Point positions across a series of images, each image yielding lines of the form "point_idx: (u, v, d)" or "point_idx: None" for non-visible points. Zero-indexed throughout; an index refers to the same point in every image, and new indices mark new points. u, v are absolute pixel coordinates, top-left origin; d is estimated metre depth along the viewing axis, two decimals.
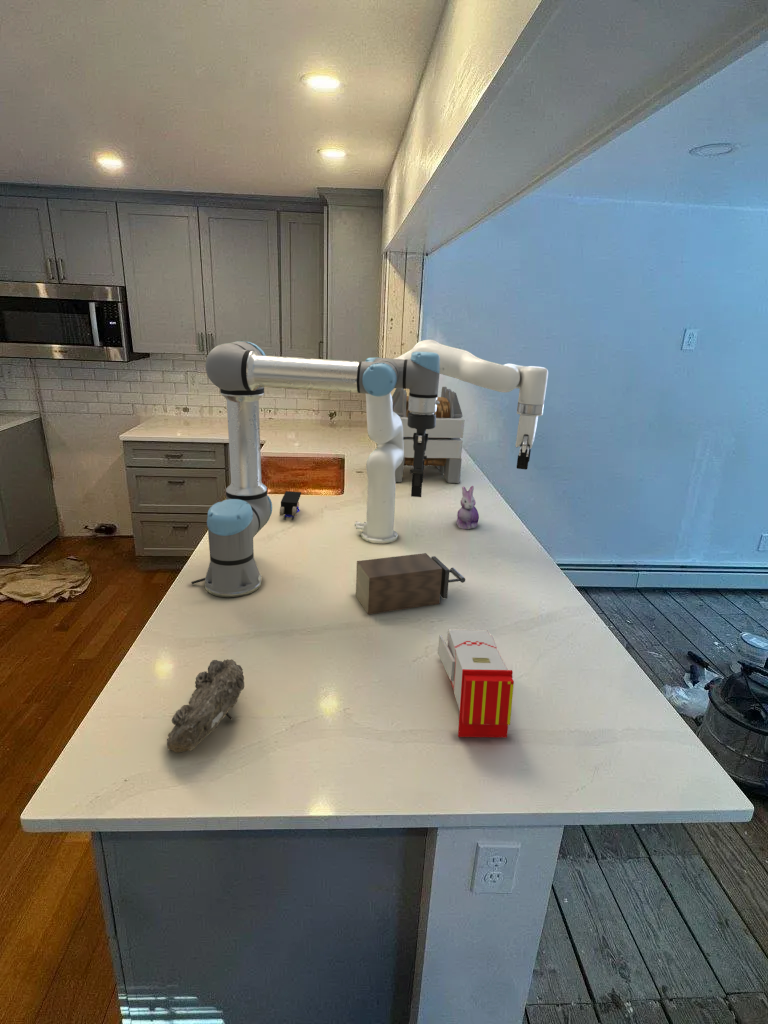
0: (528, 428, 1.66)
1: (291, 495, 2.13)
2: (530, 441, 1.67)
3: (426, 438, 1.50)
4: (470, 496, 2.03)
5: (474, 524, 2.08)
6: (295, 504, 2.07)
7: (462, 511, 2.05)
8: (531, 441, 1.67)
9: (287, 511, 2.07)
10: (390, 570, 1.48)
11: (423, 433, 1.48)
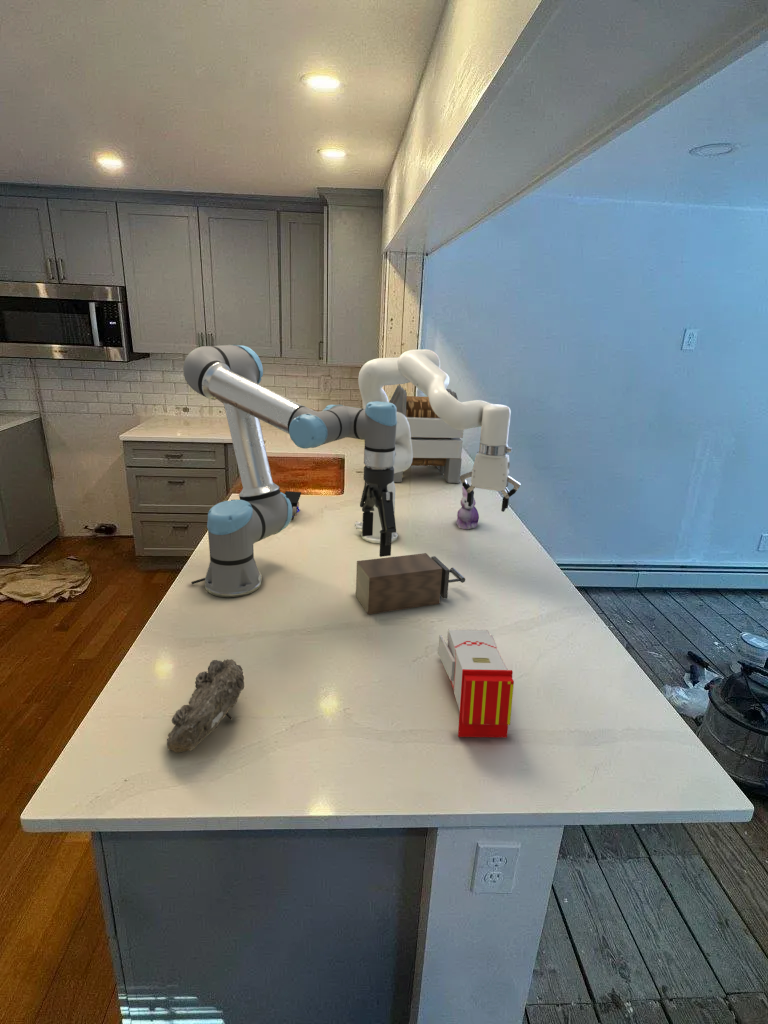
0: None
1: (291, 495, 2.13)
2: (471, 478, 1.61)
3: None
4: None
5: (474, 524, 2.08)
6: (295, 504, 2.07)
7: (462, 511, 2.05)
8: (471, 478, 1.61)
9: None
10: (390, 570, 1.48)
11: (386, 488, 1.38)
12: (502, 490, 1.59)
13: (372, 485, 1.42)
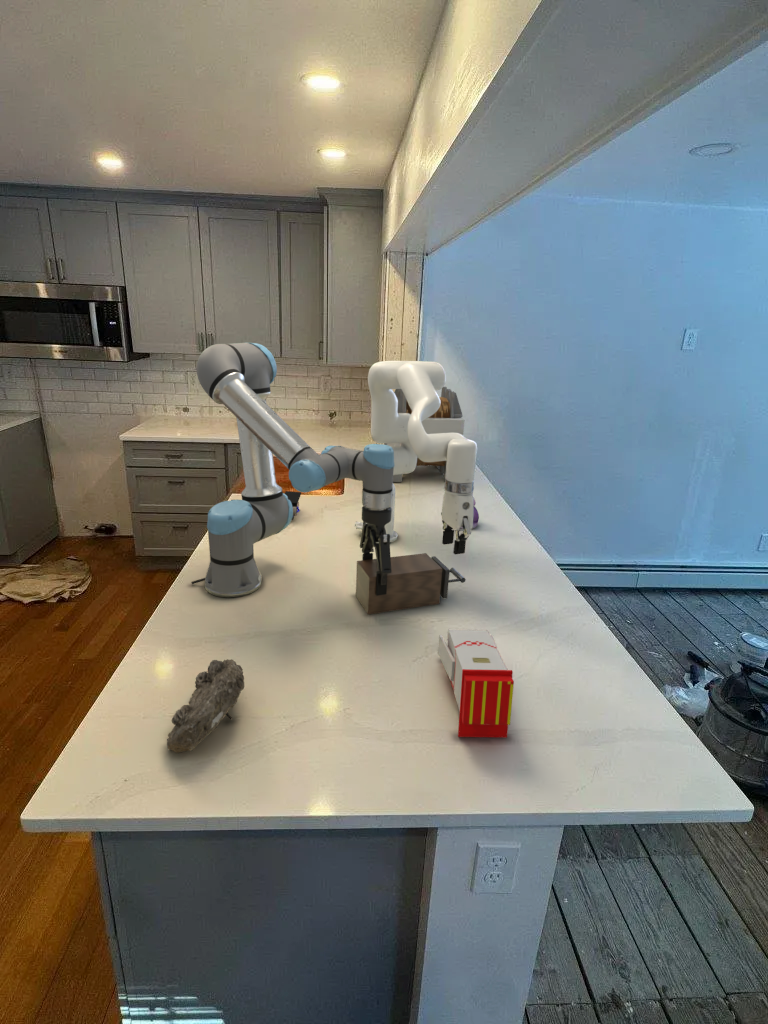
0: None
1: (291, 495, 2.13)
2: None
3: (384, 532, 1.44)
4: None
5: (474, 524, 2.08)
6: (295, 504, 2.07)
7: None
8: None
9: None
10: None
11: (384, 528, 1.42)
12: (456, 530, 1.49)
13: (370, 524, 1.45)
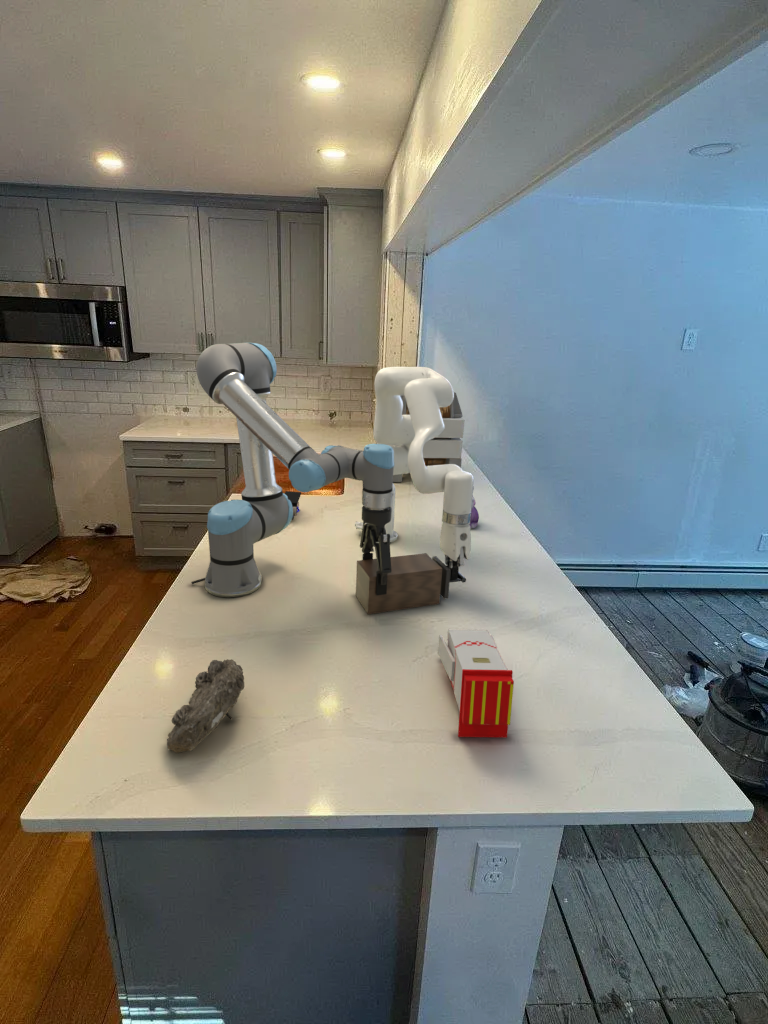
0: None
1: (291, 495, 2.13)
2: None
3: (384, 532, 1.44)
4: None
5: (474, 524, 2.08)
6: (295, 504, 2.07)
7: None
8: None
9: None
10: None
11: (384, 528, 1.42)
12: (454, 560, 1.51)
13: (370, 524, 1.45)
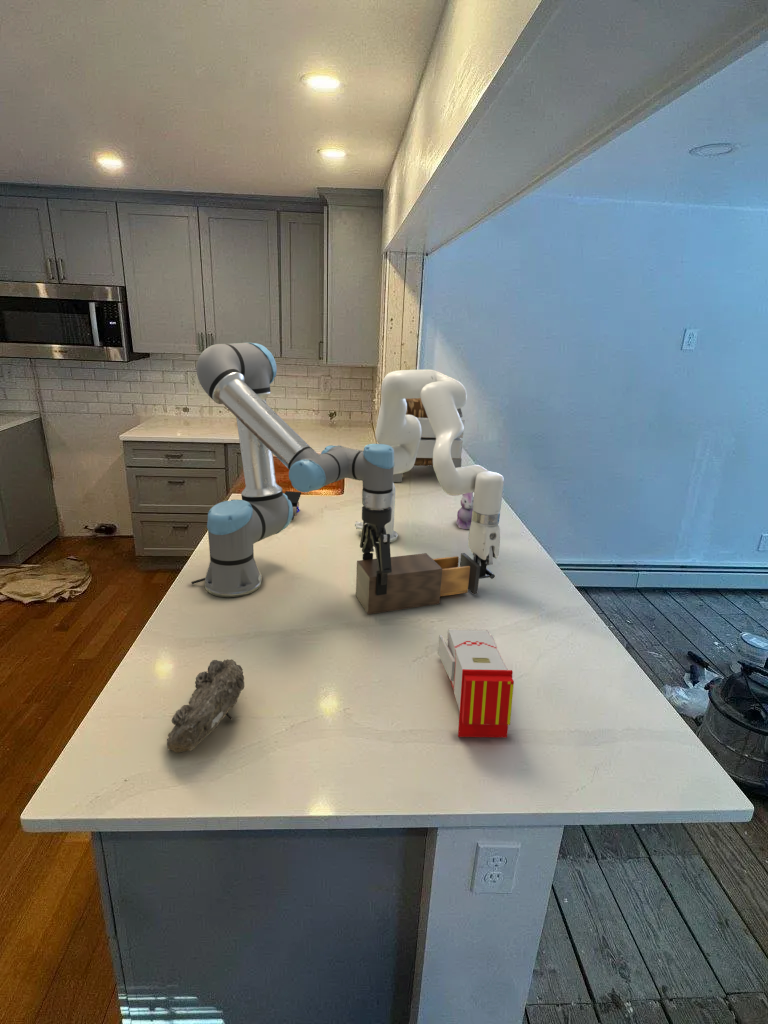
0: None
1: (291, 495, 2.13)
2: None
3: (384, 532, 1.44)
4: (470, 496, 2.03)
5: None
6: (295, 504, 2.07)
7: (462, 511, 2.05)
8: None
9: None
10: None
11: (384, 528, 1.42)
12: (483, 559, 1.55)
13: (370, 524, 1.45)
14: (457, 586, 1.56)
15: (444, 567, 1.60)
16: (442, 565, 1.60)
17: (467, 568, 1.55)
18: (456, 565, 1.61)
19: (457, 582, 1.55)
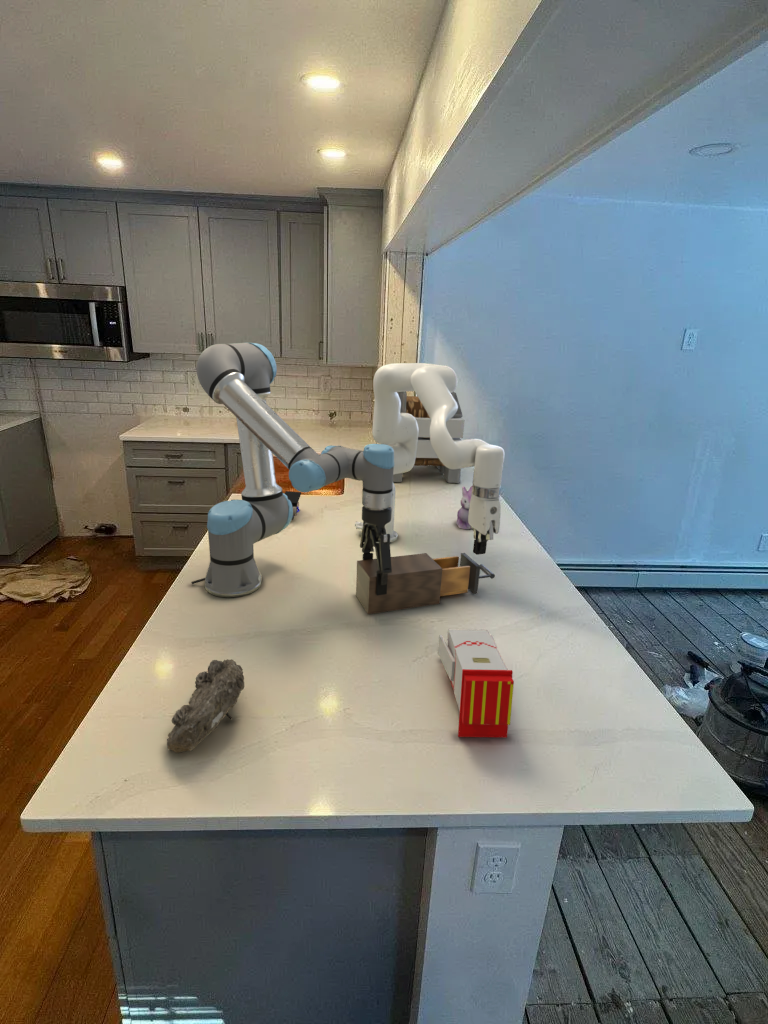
0: None
1: (291, 495, 2.13)
2: None
3: (384, 532, 1.44)
4: (470, 496, 2.03)
5: None
6: (295, 504, 2.07)
7: (462, 511, 2.05)
8: None
9: None
10: None
11: (384, 528, 1.42)
12: (484, 534, 1.53)
13: (370, 524, 1.45)
14: (457, 586, 1.56)
15: (444, 567, 1.60)
16: (442, 565, 1.60)
17: (467, 568, 1.55)
18: (456, 565, 1.62)
19: (457, 582, 1.55)
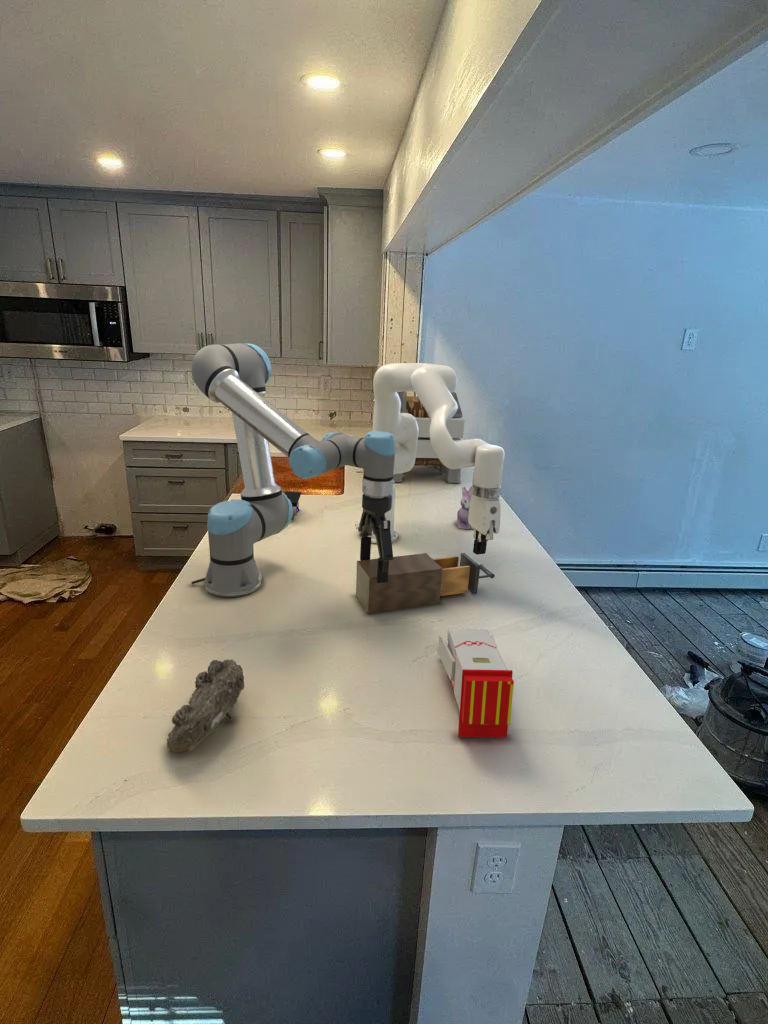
0: None
1: (291, 495, 2.13)
2: None
3: (384, 520, 1.43)
4: (470, 496, 2.03)
5: None
6: (295, 504, 2.07)
7: (462, 511, 2.05)
8: None
9: None
10: (391, 570, 1.48)
11: (384, 516, 1.41)
12: (484, 534, 1.53)
13: (370, 512, 1.44)
14: (457, 586, 1.56)
15: (444, 567, 1.60)
16: (442, 565, 1.60)
17: (467, 568, 1.55)
18: (456, 565, 1.62)
19: (457, 582, 1.55)
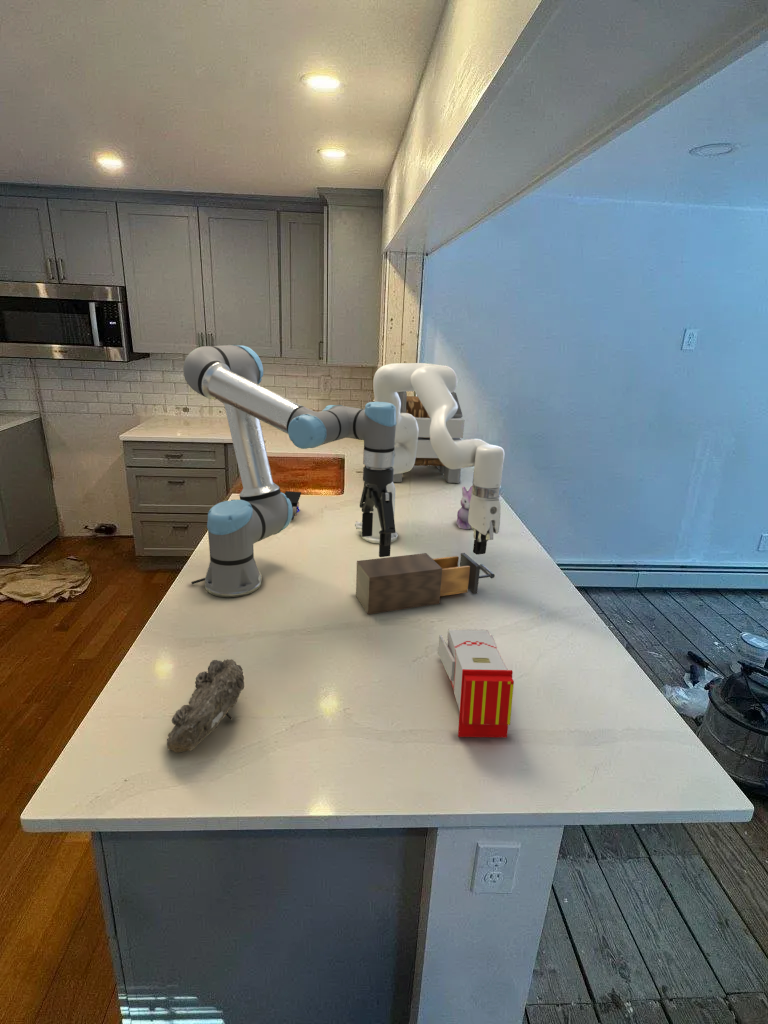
0: None
1: (291, 495, 2.13)
2: None
3: None
4: (470, 496, 2.03)
5: None
6: (295, 504, 2.07)
7: (462, 511, 2.05)
8: None
9: None
10: (391, 570, 1.48)
11: (385, 489, 1.38)
12: (484, 534, 1.53)
13: (371, 485, 1.42)
14: (457, 586, 1.56)
15: (444, 567, 1.60)
16: (442, 565, 1.60)
17: (467, 568, 1.55)
18: (456, 565, 1.62)
19: (457, 582, 1.55)
